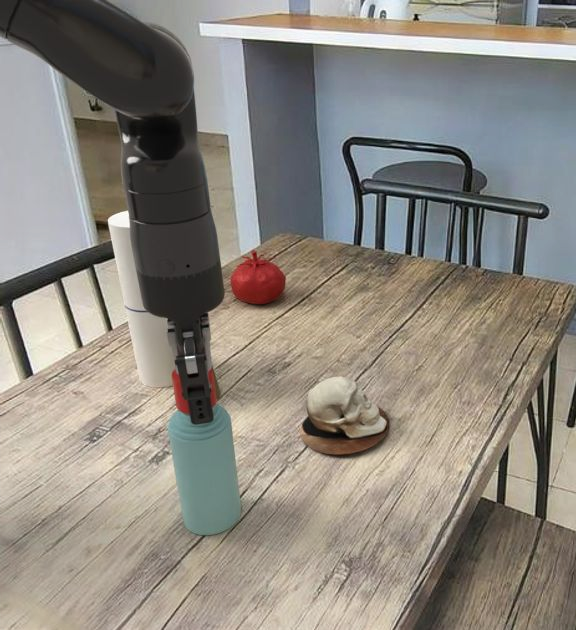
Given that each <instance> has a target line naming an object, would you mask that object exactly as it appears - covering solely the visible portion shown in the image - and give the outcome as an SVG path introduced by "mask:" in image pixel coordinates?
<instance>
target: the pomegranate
mask: <svg viewBox="0 0 576 630" xmlns="http://www.w3.org/2000/svg"><path fill="white" fill-rule="evenodd" d="M250 254H251V256H252V258H251V257H250V256H246V255H245V256H244V255H242V256H241V258H242V259H245V260H244V261H243V262H242V263H240V264H238V265H235V267H236V268H235V269H234V271H233V272H232V274H231V275H230V287H231V291H232V294H233V295H234V297H235V298H237V300H239V301H241V302H243V303H247V304H254V305H265V304H269V303H271V302H274V301H276V300H278V299H279V298H280V297H281V296H282V294H283V293H284V290H285V286H286V283H287V281H286V280H287V277H286V275H285V273H284V272H283V271H282V269H280V267H279V266H278V265H276V264H275V263H274V262H271V261H270V260H269V259H271V260H272V259H274V260H275V259H278V258H277V257H267V258H264V259H262V258H261V257H265V254H262V253H260V254H259V256H258V252H257V251H256V250H251V251H250Z"/></svg>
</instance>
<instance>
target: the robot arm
mask: <svg viewBox="0 0 576 630" xmlns="http://www.w3.org/2000/svg"><path fill="white" fill-rule="evenodd" d="M0 38H2V39H4V40H7V42H9V43H11V44H13V45H15V46H17V47H18V48H20V49H22V50H25V51H27V52H29V53H30V54H32V55H35V56H36V57H38V58H39V59H41V60H42V61H43V62H44V63H46V64H48V66H50V67H51V68H52V69H54V70H55V71H56V72H58V73H59V74H61V75H62V76H63V77H65V78H66V79H68V80H69V82H72V83H73V84H75V85H76V86H77V87H79V88H80V89H82V90H83V91H84V92H86V93H87V94H88V95H90V96H92V98H95V99H96V100H98V101H99V102H101V103H102V104H104V105H106V106H107V107H109V108H110V109H113V110H114V114H115V118H116V124H117V128H118V133H119V138H120V144H121V153H120V173H121V175H120V176H121V182H122V187H123V191H124V197H125V203H126V207H127V211H128V213H129V222H130V240H131V246H132V252H133V257H134V262H135V267H136V272H137V278H138V283H139V288H140V293H141V299H142V304H143V307H144V308H145V310H146V311H147V312H149V313H150V314H152V315H154V316H157V317H161V318H167V324H168V328H167V337H168V343H169V346H170V347H171V348H172V351H173V358H174V364H175V371H176V373H177V374H179V378H180V382H181V387H182V397H184V401H185V400H187V401H188V407H189V413H190V419H191V423H192V424H194V425H198V424H204V423H210V422H212V421H213V419H214V416H213V409H212V402H211V393H212V389H211V388H212V386H211V383H210V382H209V375H208V371H209V370H211V369H212V365H213V360H212V351H211V341H212V333H211V323H210V316H209V312H212V311H213V310H215V309H217V308H218V307H219V306H220V305H221V304H222V303H223V302H224V299H225V295H226V294H225V293H226V292H225V285H224V277H223V270H222V269H223V268H222V260H221V254H220V245H219V238H218V231H217V228H216V227H217V226H216V223H215V220H214V216H213V211H212V207H211V198H210V191H209V190H210V189H209V183H208V176H207V170H206V166H205V161H204V158H203V154H202V150H201V147H200V142H199V130H198V129H199V128H198V119H197V107H196V96H195V95H196V94H195V74H194V73H195V72H194V68H193V63H192V58H191V56H190V53H189V51H188V48H187V47H186V46H185V45H184V43H183V41H182V40H181V39H180V38H179V37H178V36H177V35H176V34H175V33H174V32H173V31H171V30H170V29H168V28H167V27H165V26H163V25H160V24H158V23H155V22H150V21H141V20H140V19H138V18H136V17H134V16H133V15H131V14H130V13H129V12H126V11H125V10H123V9H122V8H120V7H118V6H117V5H115V4H114V3H112V2H110V1H109V0H0ZM179 354H180V355H179Z"/></svg>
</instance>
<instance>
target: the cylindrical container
mask: <svg viewBox="0 0 576 630" xmlns="http://www.w3.org/2000/svg"><path fill="white" fill-rule="evenodd" d="M107 224H108V229H109V235H110V239H111V244H112V250H113V255H114V260H115V264H116V270H117V273H118V280H119V285H120V289H121V294H122V299H123V304H124V310H125V315H126V319H127V325H128V329H129V334H130V340H131V344H132V349H133V353H134V358H135V363H136V368H137V374H138V378H139V382H140V383H141V384H142V385H143V386H145V387H148V388H154V389H155V388H156V389H157V388H160V389H162V388H168V387H173V382H172V372H173V371H174V369H175V364H174V358H173V351H172V348H171V347H170V346H169V343H168V337H167V328H168V324H167V318H161V317H157V316H154V315H152V314H150V313H149V312H147V311H146V310H145V308H144V307H143V304H142V299H141V293H140V288H139V283H138V278H137V272H136V267H135V262H134V257H133V252H132V246H131V240H130V222H129V213H128V210H124V211H120V212H117V213H115V214H113V215H111V216H110V217H109V218H107Z"/></svg>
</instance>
